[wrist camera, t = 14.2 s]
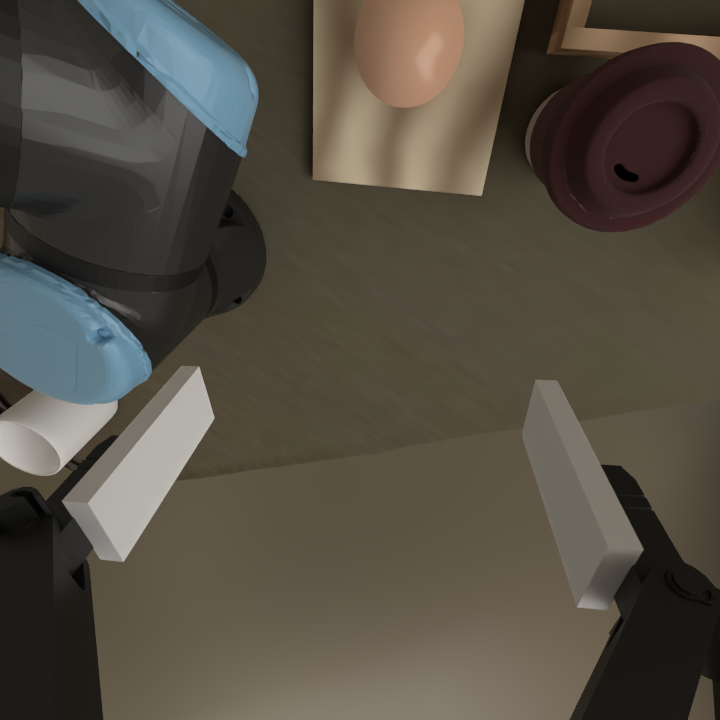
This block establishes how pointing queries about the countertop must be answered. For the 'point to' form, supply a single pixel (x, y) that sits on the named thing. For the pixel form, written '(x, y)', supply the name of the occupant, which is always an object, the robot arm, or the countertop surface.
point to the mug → (48, 431)
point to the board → (415, 124)
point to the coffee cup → (630, 137)
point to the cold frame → (608, 36)
